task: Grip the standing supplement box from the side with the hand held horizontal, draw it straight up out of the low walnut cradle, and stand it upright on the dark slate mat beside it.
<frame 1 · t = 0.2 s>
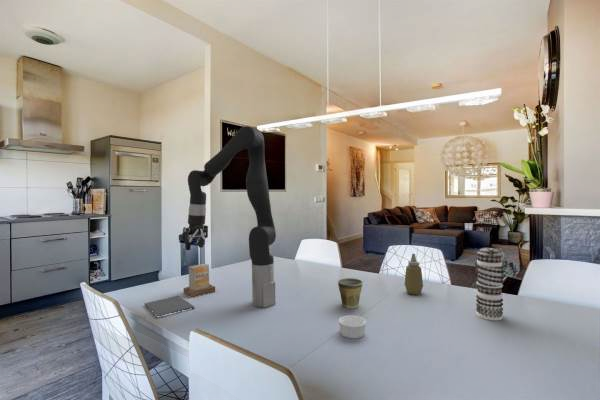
hand: (194, 248, 141), 22 cm above the table, tool pointing down, fingers open, 8 cm apart
slate mat: (169, 307, 127), on the table
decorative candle: (489, 316, 113), on the table
cradle: (199, 292, 145), on the table
ramekin: (352, 334, 101), on the table
squeeze bottle: (413, 293, 140), on the table
ceramic cup: (350, 304, 127), on the table
supplement box: (199, 293, 145), resting in cradle
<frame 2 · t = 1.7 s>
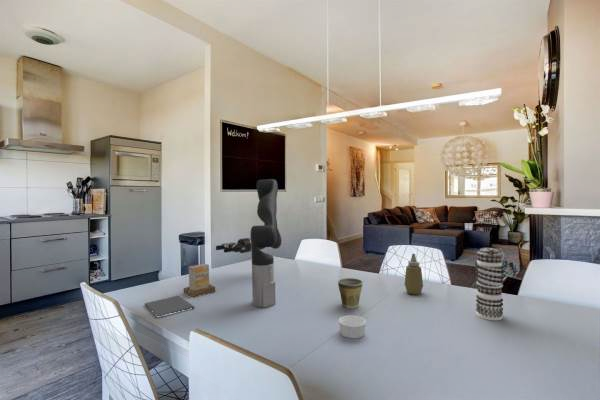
hand: (220, 249, 152), 19 cm above the table, tool horizontal, fingers open, 8 cm apart
nothing on the table moved.
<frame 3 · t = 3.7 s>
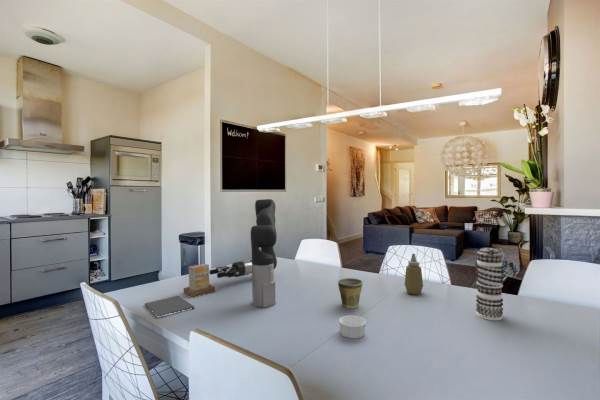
hand: (213, 274, 149), 8 cm above the table, tool horizontal, fingers open, 8 cm apart
nothing on the table moved.
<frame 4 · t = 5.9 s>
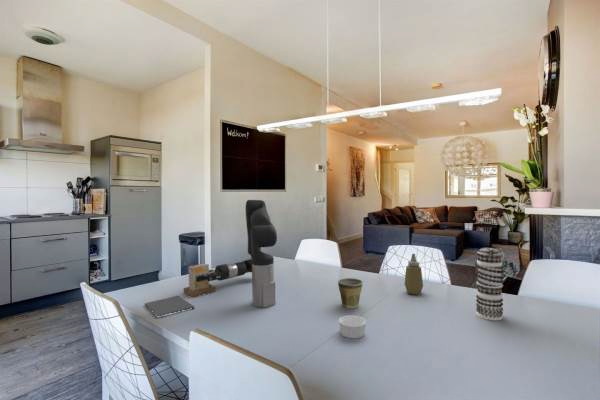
hand: (194, 278, 143), 8 cm above the table, tool horizontal, fingers closed on supplement box, 5 cm apart
supplement box: (199, 293, 145), resting in cradle, touching gripper
everything else where it was.
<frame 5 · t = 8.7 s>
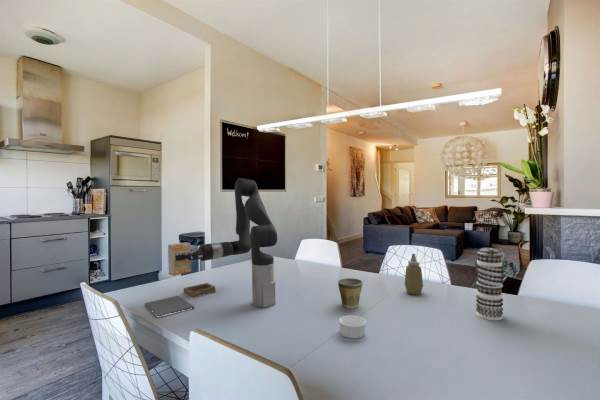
hand: (173, 257, 131), 20 cm above the table, tool horizontal, fingers closed on supplement box, 5 cm apart
supplement box: (180, 273, 133), point 12 cm above the table, touching gripper
everything else where it was.
when the fingers open (10 cm above the table, at t = 11.6 s): supplement box drops 1 cm, resting on slate mat.
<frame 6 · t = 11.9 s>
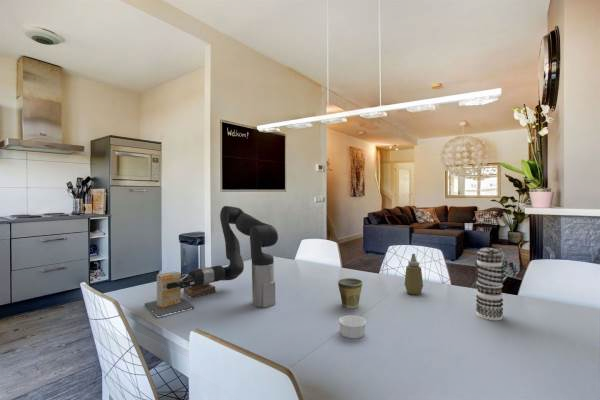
hand: (163, 284, 125), 10 cm above the table, tool horizontal, fingers open, 8 cm apart
supplement box: (169, 305, 127), point 1 cm above the table, touching slate mat
everything else where it was.
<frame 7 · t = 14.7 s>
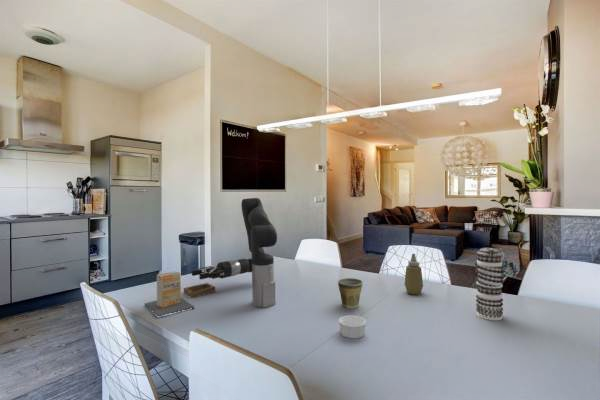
hand: (195, 275, 135), 11 cm above the table, tool horizontal, fingers open, 8 cm apart
nothing on the table moved.
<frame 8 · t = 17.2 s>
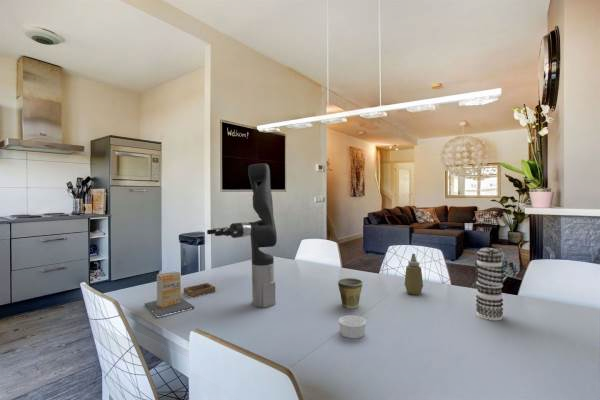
hand: (211, 233, 147), 28 cm above the table, tool horizontal, fingers open, 8 cm apart
nothing on the table moved.
at the end: supplement box inside the target area on the slate mat (0.3 cm from its centre), point 0.8 cm above the slate mat's base; supplement box tilted 0°; the gripper is holding nothing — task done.
